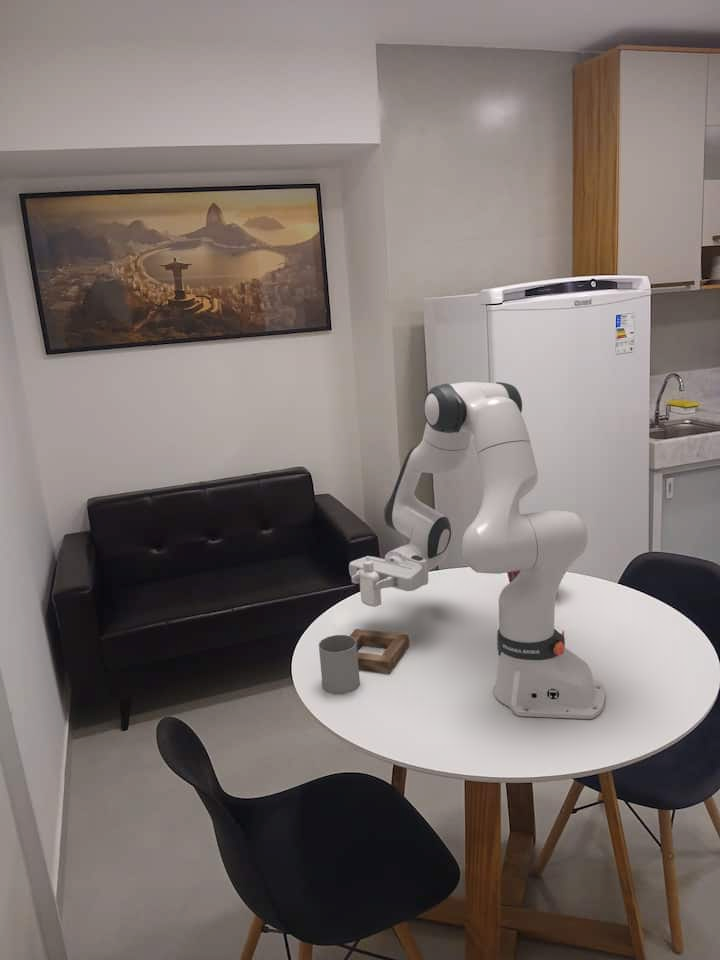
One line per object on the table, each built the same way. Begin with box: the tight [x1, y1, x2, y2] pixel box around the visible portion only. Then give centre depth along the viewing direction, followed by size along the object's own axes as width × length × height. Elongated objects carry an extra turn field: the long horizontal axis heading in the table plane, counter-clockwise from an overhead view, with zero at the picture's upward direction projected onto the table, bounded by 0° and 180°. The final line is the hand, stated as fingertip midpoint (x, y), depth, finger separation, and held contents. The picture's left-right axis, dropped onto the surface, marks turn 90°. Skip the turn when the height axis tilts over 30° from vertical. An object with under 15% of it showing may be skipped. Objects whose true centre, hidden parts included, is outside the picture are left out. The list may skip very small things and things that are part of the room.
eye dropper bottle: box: [359, 555, 382, 608], centre depth 176 cm, size 4×6×12 cm
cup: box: [318, 634, 361, 695], centre depth 161 cm, size 8×8×10 cm
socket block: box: [349, 628, 410, 675], centre depth 174 cm, size 14×14×3 cm
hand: (364, 583), depth 175 cm, fingers closed on eye dropper bottle, 6 cm apart
